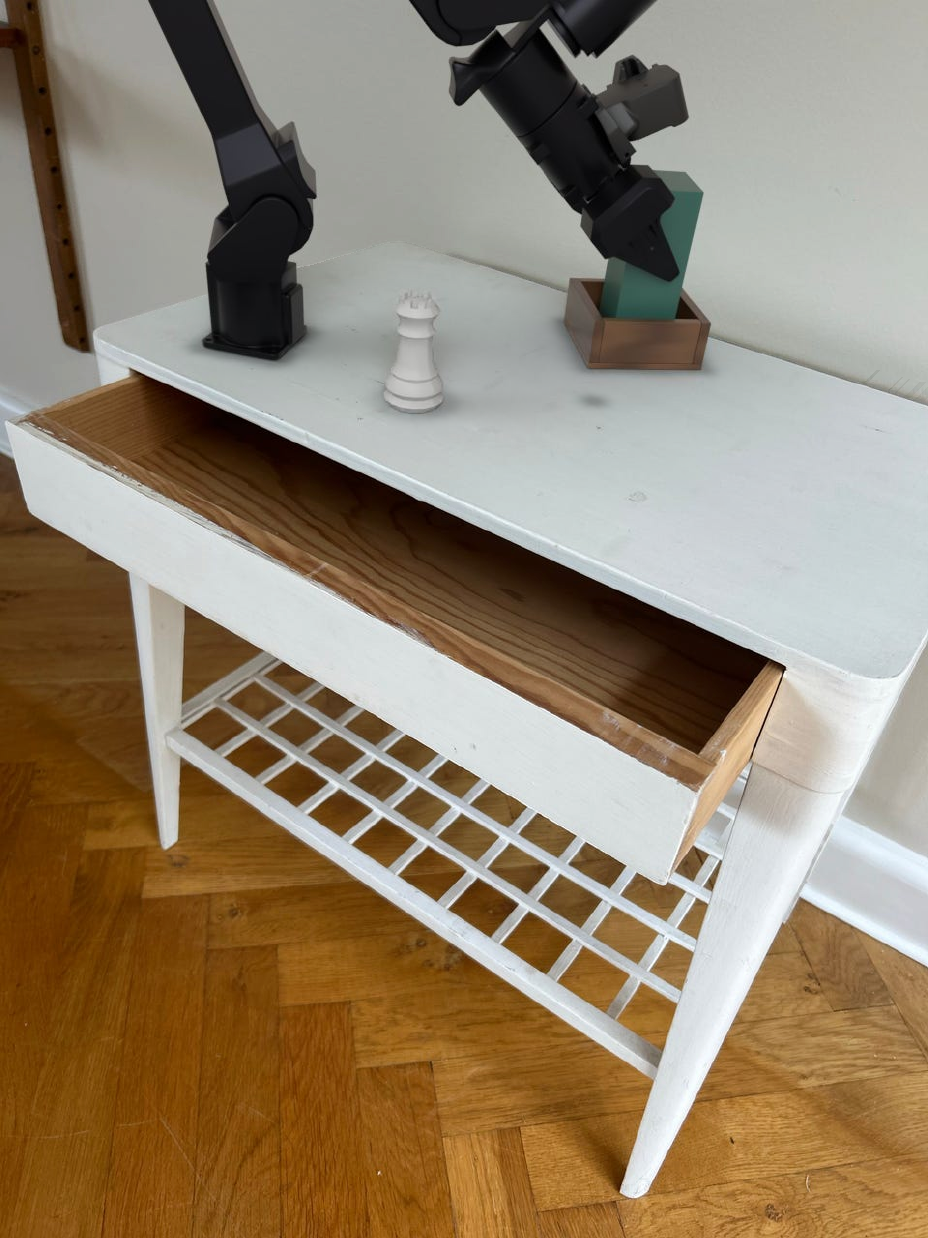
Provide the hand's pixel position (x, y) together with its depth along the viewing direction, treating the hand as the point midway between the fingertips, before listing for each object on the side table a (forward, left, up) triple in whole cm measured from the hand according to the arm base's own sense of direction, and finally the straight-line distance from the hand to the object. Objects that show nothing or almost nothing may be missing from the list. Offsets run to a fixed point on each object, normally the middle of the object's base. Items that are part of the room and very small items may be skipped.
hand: (662, 261), depth 82 cm
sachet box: (-1, -1, -6) cm, 7 cm away
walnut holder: (-1, -1, -7) cm, 7 cm away
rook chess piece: (-15, -18, -7) cm, 25 cm away
